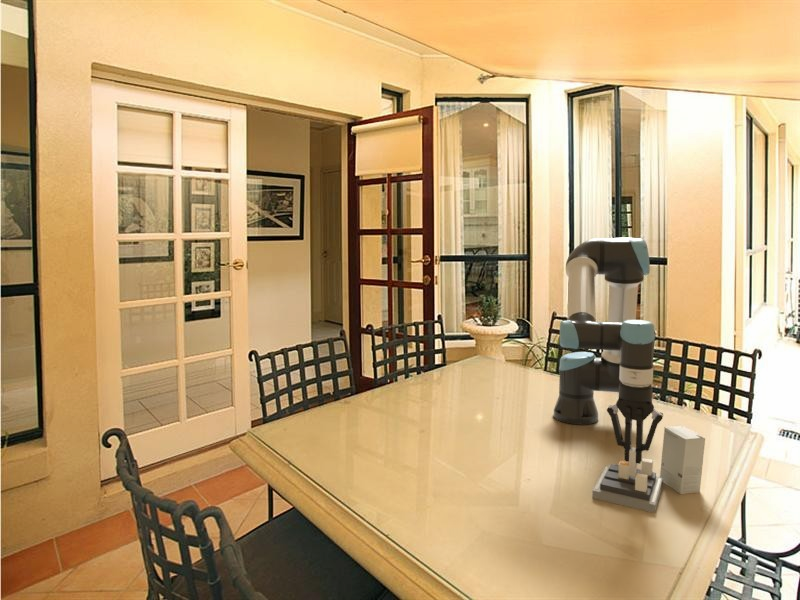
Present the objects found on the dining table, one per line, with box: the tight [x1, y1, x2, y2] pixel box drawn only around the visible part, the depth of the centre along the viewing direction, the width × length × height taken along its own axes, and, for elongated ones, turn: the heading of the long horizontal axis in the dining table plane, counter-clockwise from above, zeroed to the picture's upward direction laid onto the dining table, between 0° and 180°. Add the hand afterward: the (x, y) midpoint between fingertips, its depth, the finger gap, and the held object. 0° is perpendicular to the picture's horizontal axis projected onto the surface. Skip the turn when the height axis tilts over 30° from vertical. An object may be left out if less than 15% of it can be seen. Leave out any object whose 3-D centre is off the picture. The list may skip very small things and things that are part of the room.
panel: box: [592, 463, 664, 514], centre depth 131 cm, size 14×16×4 cm
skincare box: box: [659, 425, 706, 495], centre depth 133 cm, size 8×6×15 cm
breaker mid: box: [618, 460, 630, 480], centre depth 132 cm, size 2×2×4 cm
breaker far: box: [640, 457, 654, 476], centre depth 133 cm, size 2×2×4 cm
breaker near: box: [635, 473, 648, 492], centre depth 125 cm, size 2×2×4 cm
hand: (632, 474), depth 131 cm, fingers closed
